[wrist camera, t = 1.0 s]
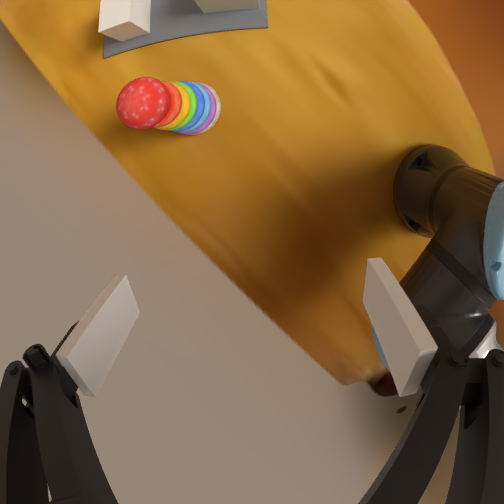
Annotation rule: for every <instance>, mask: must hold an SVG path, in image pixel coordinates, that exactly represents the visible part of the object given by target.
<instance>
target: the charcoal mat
mask: <svg viewBox="0 0 504 504" xmlns="http://www.w3.org/2000/svg"><path fill="white" fill-rule="evenodd" d="M255 28H268V21H267V8H266V0H259V8H256V9H241V10H230V11H221V12H213V13H206V14H204V13H203V12H202V10H201V9H200V8H199V6H198V5H197V4H196V2H195V1H194V0H151V8H150V33H148V34H145V35H141V36H138V37H134V38H131V39H128V40H125V41H119V40H117V39H114V38H112V37H109V36H107V35H104V58H107V57H110V56H113V55H116V54H119V53H122V52H126V51H129V50H132V49H136V48H139V47H143V46H146V45H150V44H154V43H158V42H163V41H167V40H172V39H176V38H181V37H187V36H192V35H198V34H205V33H212V32H220V31H229V30H240V29H255Z"/></svg>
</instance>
